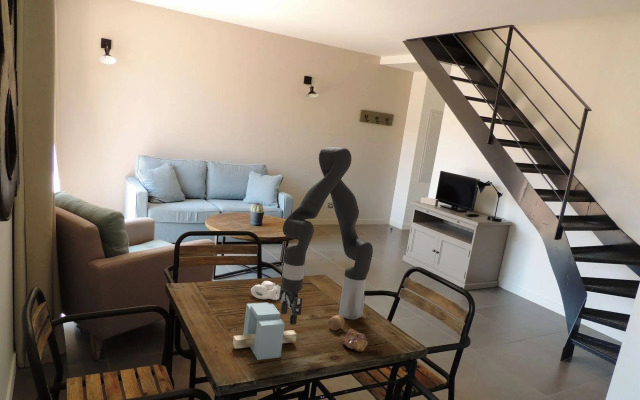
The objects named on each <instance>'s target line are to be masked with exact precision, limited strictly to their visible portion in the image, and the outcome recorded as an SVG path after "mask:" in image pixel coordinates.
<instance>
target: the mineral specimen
mask: <svg viewBox="0 0 640 400" xmlns="http://www.w3.org/2000/svg"><path fill="white" fill-rule="evenodd" d="M366 337H367V336H366V335H365V334H364V333H361V332H358V331H356V330H355V329H353V328H349V329H348V331H347V332H346V335H345V337H344V338H343V339H342V344H343V345H345V346H346V347H347V348H349V349H351V350H354V351H357V352H359V353H360V352H364V351H365V349H366V347H367V346H368V345H369V344H368V343H369V342H368V340H367V338H366Z"/></svg>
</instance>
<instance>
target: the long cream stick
mask: <svg viewBox="0 0 640 400" xmlns="http://www.w3.org/2000/svg"><path fill="white" fill-rule="evenodd" d="M255 335H256V334H249V335H243V334H240V335H233V336H232V337H233V340H232V345H233V347H234V349H244V348H245V349H246V348H250V347H254V344H255ZM295 342H297V332H296V331H295V330H294V329H293V330H290V329H289V330H284V334H283V341H282V344H288V343H295Z"/></svg>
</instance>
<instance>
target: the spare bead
mask: <svg viewBox="0 0 640 400" xmlns="http://www.w3.org/2000/svg"><path fill="white" fill-rule="evenodd" d="M327 324H328V327H329V329H330V330H332V331H337V330H339V329H341V328H343V327H344V325H345V318H344V317H342V316H341V315H339V314H335V315H334V316H332V317H330V318H329V319H328V320H327Z"/></svg>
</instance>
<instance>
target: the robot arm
mask: <svg viewBox="0 0 640 400" xmlns="http://www.w3.org/2000/svg"><path fill="white" fill-rule="evenodd" d="M318 163H319V167H320V170H321V173H322V175H323V178H322V179H320V180H319V181H318V182H316V183H315V184H314V185H312V186H311V188H310V189H308V191H307V192H306V194H305V195H304V197H303V199H302V200H301V203H300V204H299V205H298V206H297V207H296V208H295V209H294V211H292V213H290V214H289V215H288V217H286V219H285V220H284V222H283V225H282V232H283V235H284V236H285V237H287V238H290V239H294V240H297V241H298V242H297V243H296V244H289V245H287V246H286V248H285V253H284V262H283V267H282V273H281V274H282V275H281V281H280V282H281V283H280V287H281V288H280V296H279V299H278V300H280V303H281V306H280V315H286V314H288V309H289V310H290V315H289V317H290V318H289V324H290V325H291V326H293V325H297V321H298V316H301V315H302V307H303V304H302V303H303V298H302V297H299V292H300V291H302V290H303V286H304V279H305V264H306V263H305V262H306V257H307V256H306V255H307V251H308V249H309V245H310V243H311V241H312V239H313V237H314V232H315V229H314V225H313V223H312V222H311V221H309V220H313V219H316V218H317V216H319V213H320V211H321V210H322V208H323V206H324V204H325V201H326V200H327V198H328V197H329V195H330V197H331V202H332V205H333V209H334V213H335V215H336V219H337V222H338V225H339V226H338V228H339V230H340V234H341V240H342V248H343V251H344V254H345V257H347V258H349V259H350V260H353V261H354V265H353V266H348V267H346V268H345V270H344V274H343V275H344V276H343V283H342V289H341V295H340V302H339V308H338V315H341V316H342V317H343V318H344V319H347V320H358V319H360V318H362V317H363V313H364V307H365V302H366V295H365V289H366V282H367V277H368V274H369V272H370V268H371V263H372V258H373V253H374V247H373V244H372V243H371V242H369V241H366V240H364V239H361V238H359V236H358V233H357V230H356V224H357V221H358V219H359V215H360V210H359V206H358V201H357V199H356V196H355V194H354V193H353V192H352V190H351V189H350V187H348V185H346V183H345V182H344V180H342V178H343V177H344V176H345V175H346V173H347V172H348V170H349V168H350V167H351V165H352V154H351V152H350V150H349V149H348V148H346V147H331V146H330V147H329V146H327V147H323V148H321V150H320V151H319V153H318Z"/></svg>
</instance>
